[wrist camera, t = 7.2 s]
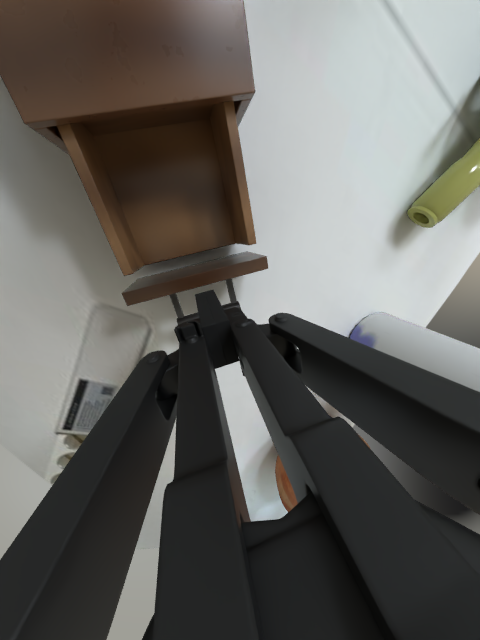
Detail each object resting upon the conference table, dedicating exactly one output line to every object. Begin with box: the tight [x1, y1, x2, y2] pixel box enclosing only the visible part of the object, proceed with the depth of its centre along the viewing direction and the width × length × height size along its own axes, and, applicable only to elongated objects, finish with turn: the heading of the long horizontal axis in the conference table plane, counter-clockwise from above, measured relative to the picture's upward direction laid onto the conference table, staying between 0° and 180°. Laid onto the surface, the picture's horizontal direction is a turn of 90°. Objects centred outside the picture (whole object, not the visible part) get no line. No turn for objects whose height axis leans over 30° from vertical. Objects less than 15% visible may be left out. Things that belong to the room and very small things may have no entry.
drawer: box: [57, 101, 268, 325], centre depth 20 cm, size 19×13×7 cm
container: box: [350, 312, 480, 392], centre depth 29 cm, size 10×10×20 cm
